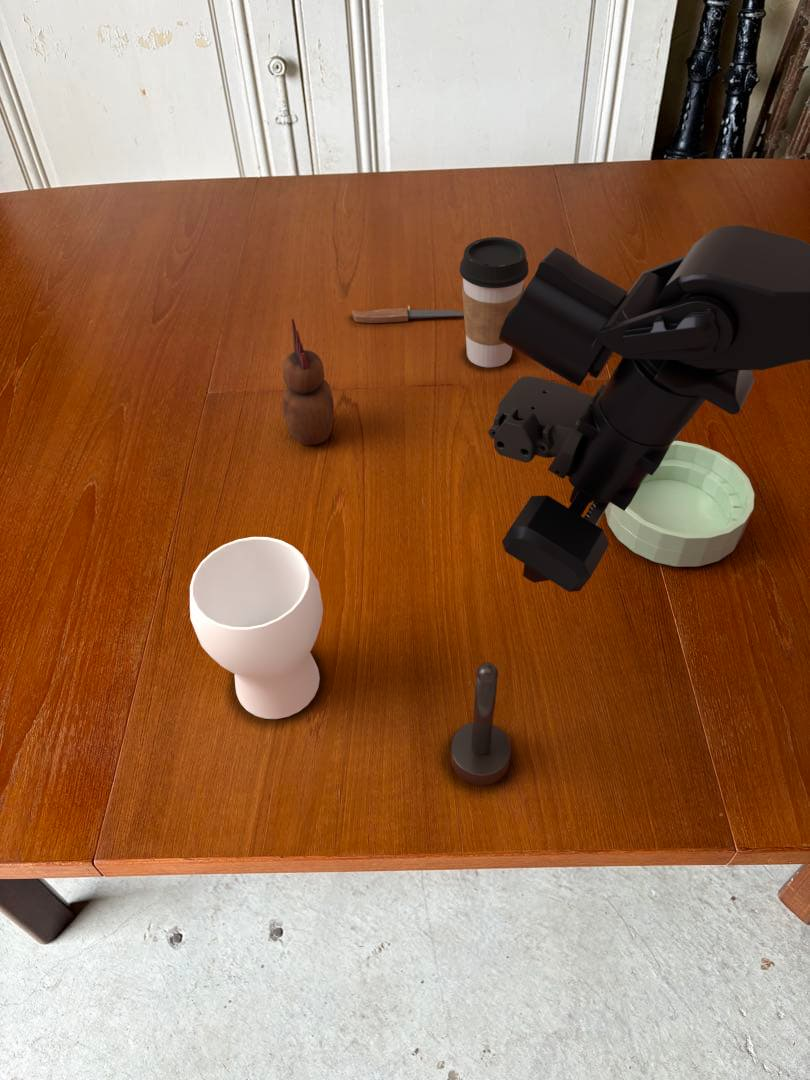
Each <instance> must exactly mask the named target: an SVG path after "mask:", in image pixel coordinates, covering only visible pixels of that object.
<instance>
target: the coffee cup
mask: <svg viewBox="0 0 810 1080" xmlns="http://www.w3.org/2000/svg"><path fill="white" fill-rule="evenodd" d="M526 252H527V251H526V249H525V247H524V246H523V245H522V244H521V243H520V242H518V241H516V240H514V239H511V238H507V237H500V236H491V237H489V236H488V237H483V238H480V239H477V240H475V241H472V242H471V243H470V244H468V245H467V246H466V247H465V249H464V250H463V256H462V258H461V260H460V263H459V264H460V265H459V275H460V276H461V277H462V283H461V293H462V294H461V295H462V306H463V312H464V316H463V318H464V330H465V331H464V332H465V344H466V345H465V346H466V347H465V348H466V357H467V358H468V360H469V361H470V362H471V363H472V364H474V365H476V366H479V367H483V368H497V367H501V366H504V365H505V364H507V363H508V362H509V361H510V359H511V358H512V355H513V349H514V348H512V347H511V346H509V345H507V344H506V343H504V342H502V341H501V340H499V336H500V332H501V329H502V326H503V324H504V321H505V319H506V317H507V315H508V313H509V312H510V311H511V310H512V309H513V307H514V306H515V305H516V304H517V303H518V301H519V299H520V297H521V295H522V294H523V292H524V291H525V284H524V282H525V279H526V278H527V277H528V275H529V270H530V269H529V262H528V260H527V253H526Z"/></svg>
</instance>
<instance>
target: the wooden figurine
mask: <svg viewBox="0 0 810 1080" xmlns="http://www.w3.org/2000/svg"><path fill="white" fill-rule="evenodd" d="M291 330H292V342H293V343H292V344H293V352H290V353H289V354H288V355H287V356H286V358H285V359H284V361H283V363H282V376H283V382H284V383H285V388H284V391H283V392H282V393H283V395H282V413H283V418H284V422H285V425H286V428H287V430H288V432H289V433H290V435H291V437H292V438H293V439H294V440H295V441H297V442H298V443H300V444H302V445H306V446H316V445H319V444H321V443H323V442H325V441H327V439H328V438H329V437H330V435H331V432H332V430H333V424H334V417H335V416H334V415H335V409H334V408H335V403H334V397H333V392H332V389H331V386H330V385H329V383H328V381H327V380H325V369H324V363H323V362H322V359H321V358H320V356H319V355H318V354H317V353H316V352H314V351H312V350H309V349H304V346H303V343H302V341H301V338H300V334H299V333H300V332H299V330H298V329H297V326H296V323H295V319H294V318H291Z"/></svg>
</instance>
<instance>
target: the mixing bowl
mask: <svg viewBox="0 0 810 1080" xmlns="http://www.w3.org/2000/svg"><path fill="white" fill-rule="evenodd" d="M754 508H755V491H754V488H753V486H752V483H751V481H750V479H749V477H748V476H747V474H746V473H745V472H744V471H743V470H742V469H741V468H740V466H739V465H738V464H737V463H736V462H734V461H732V460H731V459H730V458H728V457H726V456H725V455H723V453H721V452H718V451H716V450H714V449H712V448H709V447H706V446H704V445H701V444H698V443H692V442H687V441H681V440H675V441H674V442H673V443H672V444H671V446H670V447H669V449H668V451H667V453H666V455H665V457H664V458H663V460H662V462H661V464H660V466H659V467H658V468H657V470H656V471H655V472H654V474H653V475H652V476H651V475H650V474H648V476H647V477H646V478H645V479H644V481H643V482H642V483H641V485H640V487H639V489H638V491H637V493H636V494H635V496H634V498H633V500H632V501H631V503H630V504H629V506H628V507H627V508H626V510H625V511H623V510H622V509H620V508H619V507H617V506H615V505H614V504H612V503H609V505H608V506H607V508H606V510H605V512H604V513H605V517H606V522H607V525H608V527H609V528H610V530H611V531H612V533H613V534H614V536H615V538H616V539H617V540H618V541H619V542H620V543H622V544H623V545H624V546H625V547H626V548H628V549H629V550H630V551H632V552H633V553H634V554H637V555H638V556H641V557H643V558H645V559H647V560H649V561H651V562H653V563H657V564H661V565H662V564H663V565H666V566H671V567H675V568H676V567H678V568H682V567H684V568H685V567H686V568H687V567H692V568H693V567H702V566H705V565H710V564H712V563H716V562H719V561H721V560H723V559H724V558H725V557H726V556H728V555H730V554H732V552H734V551H735V549H736V548H737V545H738V544H739V542H740V541H741V539H742V538H743V535H744V532H745V530H746V527H747V525H748V524H749V521H750V518H751V516H752V513H753V512H754Z"/></svg>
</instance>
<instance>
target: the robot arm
mask: <svg viewBox="0 0 810 1080" xmlns="http://www.w3.org/2000/svg"><path fill="white" fill-rule="evenodd" d="M499 340H501V341H502V342H504V343H506V344H507V345H509V346H511V347H512V348H513V349H514V350H516V351H517V352H519V353H521V354H522V355H524V356H525V357H528V358H529V359H531V360H533V361H534V362H536V363H538V364H539V365H541V366H543V367H544V368H545V369H547V370H549V371H551V372H552V373H554V374H556V375H558V376H559V377H561V378H563V379H565V380H566V381H568V382H569V383H571V384H574V385H577V386H578V387H581V386H582V384H583V382H584V381H585V379H586V377H587V376H588V375H589V376H591V377H593V378H594V379H598V377H599V376H600V374H601V373H602V371H603V370H604V369H605V367H606V365H608V362H609V361H610V360H611V358H612V356H613V355H614V353H616V355H619V356H620V357H621V359H620V360H619V362H618V364H617V365H616V367H615V369H614V371H613V372H612V373H611V375H610V377H609V379H608V380H607V382H606V384H604V383H602V384H601V385H600V387H599V388H598V390H597V391H596V392H595V394H594V395H590V394H588V393H584V392H582V391H580V390H578V389H577V388H576V387H573V386H571V385H567V384H563V383H560V382H555V381H551V380H547V379H544V378H540V377H537V376H531V375H529V376H523V377H520V378H519V379H517V380H516V381H515V382H514V383H513V385H512V386H511V387H510V389H509V390H508V391H507V393H505V395H504V396H503V397H502V399H501V400H500V401H499V403H498V405H497V413H496V415H495V416H494V417H493V424H492V425H491V426H490V428H489V430H488V436H489V437H490V438H491V439H493V448H494V450H495V451H496V452H497V454H498V455H500V456H503V457H506V458H508V459H511V460H515V461H519V462H522V463H525V464H526V463H530V462H532V461H533V460H534V458H535V456H538V457H540V458H545V459H551V458H553V460H552V462H551V464H550V465H549V467H548V468H547V471H549V472H550V473H552V474H554V475H555V476H557V477H559V478H560V479H565V478H566V477H567V478H568V482H569V483H570V485H571V486H572V487H573V488H572V492H571V494H570V497H569V503H570V505H569V507H567V506H566V505H564V504H563V503H561V502H559V501H558V500H557V499H554V498H553V497H551V496H550V495H548V494H546V495H531V496H530V497H529V499H528V500H527V502H526V503H525V505H524V506H523V507H522V509H521V510H520V512H519V514H518V515H517V517H516V518H515V520H514V522H513V523H512V524H511V526H510V527H509V529H508V531H507V532H506V534H505V535H504V537H503V539H502V540H501V544H502V547H503V549H504V552H505V553H507V554H508V555H510V556H512V557H513V558H515V559H516V560H518V561H520V562H521V563H522V564H523V570H522V576H523V577H524V579H527V580H528V581H529V582H532V583H535V584H536V583H541V582H542V583H543V582H548V581H551V582H552V583H554V584H555V585H557V586H559V587H560V588H562V589H564V590H565V591H567V592H568V593H573V592H580V591H581V590H582V589H583V588H584V587H585V585H586V584H587V582H588V581H589V580H590V579H591V578H592V576H593V574H594V572H595V570H596V569H597V567H598V565H599V564H600V561H601V560H602V558H603V556H604V554H605V552H607V549H608V547H609V545H610V542H609V540H608V538H607V536H606V533H605V531H604V529H603V528H601V527H600V526H598V525H599V522H600V521H601V518H602V517H603V515H604V513H605V510H606V508H607V506H608V505H609V503H612V504H614V505H615V506H617V507H619V508H620V509H622V510H623V511H625V510H626V508H627V507H628V506H629V504H630V503H631V501H632V500H633V498H634V496H635V494H636V493H637V491H638V489H639V487H640V485H641V483H642V482H643V481H644V479H645V478H646V477H647V476H648V474H650V475H651V476H652V475H653V474H654V472H655V471H656V470H657V468H658V467H659V466H660V464H661V462H662V460H663V458H664V457H665V455H666V453H667V451H668V449H669V447H670V446H671V444H672V443H673V442H674V441H676V439H677V438H678V437H679V435H680V434H681V432H682V431H683V430H685V427H686V426H687V425H688V424H689V422H690V421H691V419H692V418H693V417H694V415H696V413H697V412H698V410H699V409H700V408H701V407H702V405H703V404H704V403H705V401H707V402H709V403H710V404H712V405H713V406H716V407H718V408H720V409H721V410H723V411H724V412H726V413H727V414H730V415H738V414H739V413H740V412H741V410H742V407H743V405H744V403H745V402H746V399H747V397H748V396H749V394H750V391H751V390H752V387H753V385H754V383H755V379H756V378H755V377H754V374H753V372H752V371H765V370H770V369H773V368H777V367H782V366H785V365H791V364H794V363H799V362H803V361H810V243H808V242H806V241H805V240H803V239H798V238H795V237H792V236H787V235H784V234H779V233H775V232H772V231H767V230H764V229H760V228H757V227H754V226H753V227H752V226H748V225H741V224H736V225H723V226H720V227H717V228H716V227H715V228H714V229H712V230H710V232H708V233H706V234H705V235H704V236H702V237H701V238H700V239H698V240H697V241H696V242H695V243H694V244H693V245H692V246H691V248H690V250H689V251H688V252H687V254H685V255H682V256H679V257H676V258H675V259H672V260H669V261H666V262H664V263H662V264H659V265H656V266H655V267H651V268H648V269H646V270H643V271H642V272H641V274H640V275H639V276H638V278H637V279H636V281H635V282H634V283H633V285H632V286H631V288H629V291H628V290H627V289H625V288H624V287H623V288H622V287H621V286H619V285H618V284H616V283H614V282H612V281H611V280H609V279H607V278H605V277H603V276H602V275H600V274H599V273H597V272H594V271H593V270H591V269H590V268H588V267H586V266H585V265H583V264H582V263H580V262H579V261H578V260H577V259H576V258H575V257H574V256H572V255H571V254H570V253H567V252H566V251H564V250H563V249H560V248H559V247H556V246H555V247H552V248H551V249H550V251H549V252H548V253H547V254H546V255H545V256H544V258H543V259H542V260H541V261H540V262H539V264H538V266H537V268H536V271H535V273H534V275H533V277H532V278H531V280H530V281H529V283H528V284H527V286H526V287H525V288H524V292H523V294H522V295H521V297H520V299H519V301H518V303H517V304H516V305H515V306H514V307H513V309H512V310H511V311H510V312H509V313H508V315H507V317H506V319H505V321H504V324H503V326H502V329H501V332H500V336H499ZM590 503H591V505H590ZM589 505H590V507H589V508H588V506H589ZM587 508H588V509H587ZM586 509H587V511H586ZM585 511H586V514H584V512H585ZM583 515H584V517H583Z"/></svg>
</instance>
